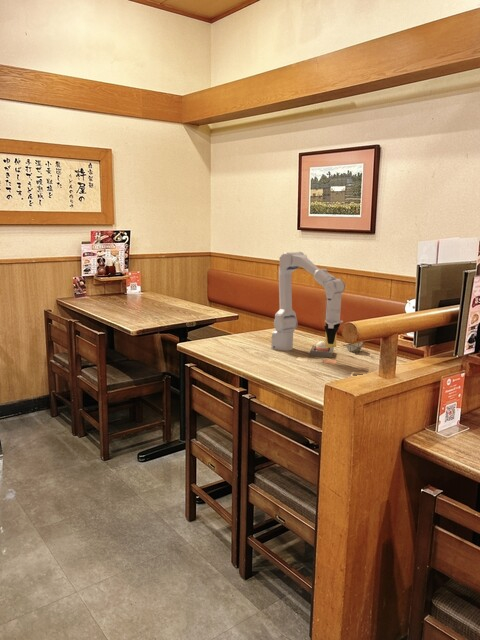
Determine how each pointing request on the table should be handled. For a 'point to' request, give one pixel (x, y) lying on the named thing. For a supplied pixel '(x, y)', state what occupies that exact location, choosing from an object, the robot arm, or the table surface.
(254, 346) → the table surface
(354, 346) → the grey rock
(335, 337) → the yellow upright block
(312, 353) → the grey square tray
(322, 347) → the dome
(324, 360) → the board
